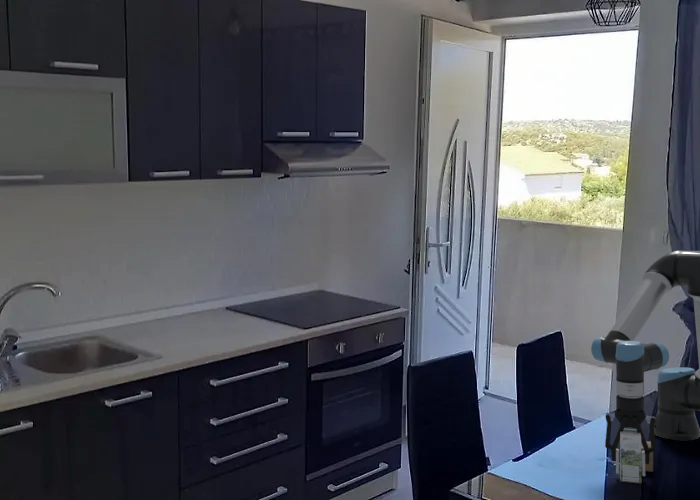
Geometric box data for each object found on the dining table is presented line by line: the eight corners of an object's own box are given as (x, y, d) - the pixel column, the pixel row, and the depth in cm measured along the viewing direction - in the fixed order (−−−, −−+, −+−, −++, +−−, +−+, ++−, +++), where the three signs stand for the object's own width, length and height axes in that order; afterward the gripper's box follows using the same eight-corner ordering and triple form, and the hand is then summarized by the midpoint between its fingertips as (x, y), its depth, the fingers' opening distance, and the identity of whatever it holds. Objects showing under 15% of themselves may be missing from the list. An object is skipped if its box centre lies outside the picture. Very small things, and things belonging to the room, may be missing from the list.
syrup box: (640, 477, 216) (640, 428, 215) (641, 484, 210) (641, 434, 209) (619, 475, 218) (619, 427, 217) (620, 482, 212) (619, 433, 211)
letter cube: (627, 461, 229) (627, 439, 228) (652, 464, 226) (651, 441, 226) (628, 470, 222) (627, 447, 222) (653, 472, 220) (653, 449, 219)
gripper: (594, 396, 212) (594, 474, 214) (667, 400, 206) (667, 481, 207) (595, 390, 219) (595, 465, 221) (665, 393, 213) (665, 471, 214)
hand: (630, 473), depth 214 cm, fingers open, 6 cm apart
